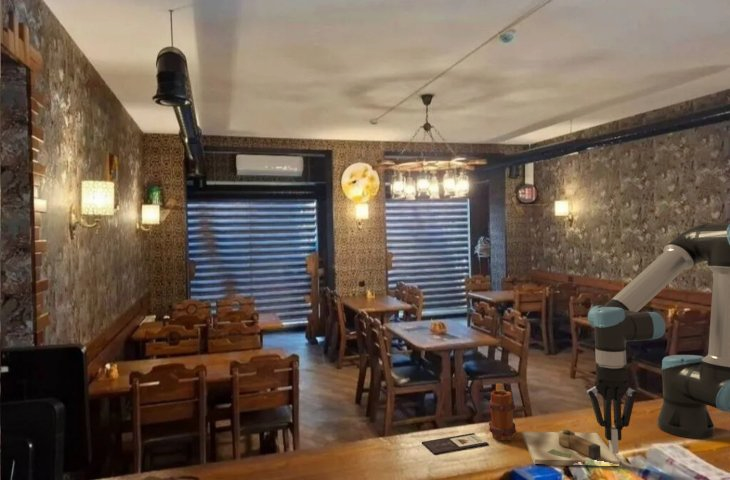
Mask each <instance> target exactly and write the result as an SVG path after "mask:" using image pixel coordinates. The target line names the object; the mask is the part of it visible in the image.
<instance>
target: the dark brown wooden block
mask: <svg viewBox="0 0 730 480" xmlns="http://www.w3.org/2000/svg"><path fill="white" fill-rule="evenodd" d="M558 432H559V445H561V446H563V447H570V448H572V449H574V450H576V451H579V452H581V453H583V454H585V455H587V456H589V457H590V458H592V459H596V458H600V457H601V454H600V446H599V445H597V444H594V443H592V442H590V441H588V440H585V439H583V438H581V437H579V436H577V435H575V433H574V431H571V430H569V429H562V430H559V431H558Z"/></svg>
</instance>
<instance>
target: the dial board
mask: <svg viewBox="0 0 730 480" xmlns="http://www.w3.org/2000/svg"><path fill="white" fill-rule="evenodd" d="M573 432H574V431H573ZM574 433H575V435H577V436H579V437H581V438H583V439H585V440H588V441H590V442H592V443H594V444H597V445H599V446H600V454H601V457H600V458H596V459H592V458H590V457H589V456H587V455H585V454H583V453H581V452H579V451H576V450H574V449H572V448H570V447H563V446H561V445H559V431H521V436H522V438H523V441H524V443H525V446H526V448H527V450H528V453H529V455H530V457H531V459H532V461H533V464H534V465H535V464H546V465H545V466H566V467H567V466H568V467H569V466H570V467H571V466H572V465H573V464H574V463H578V462H581V463H583V462H585V461H588V460H597V461H604V462H609V463H613V464H619V465H620V466H621V463H620V462H621V460H620V459H618V458H617V456H616V455H615V454H612V452H611V451H610V450H609V445H607V443H605V442H604V440H603V439H602V438H601V436H599V434H598V433H597V432H576V431H575V432H574ZM572 467H573V466H572Z"/></svg>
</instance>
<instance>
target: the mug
mask: <svg viewBox="0 0 730 480" xmlns="http://www.w3.org/2000/svg"><path fill="white" fill-rule="evenodd" d="M488 404H489V405H488V407H489V408H490V414H491V421H489V422H488V425H489V428H488V431H489V432H490V433H491V436H492V438H493V439H494V440H497V441H502V442H503V441H510V440H512V439H513V438H514V434H515V433H516V432H517V429H516V423H515V422H514V414H513V413H514V412H513V411H514V409H515V408H516V407H515V406H516V405H515V403H514V400H513V394H512V392H510V391H507V390H504V384H503V383H497V382H496V384H495V390H492V392H490V400H489V401H488Z"/></svg>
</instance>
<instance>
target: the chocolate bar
mask: <svg viewBox="0 0 730 480" xmlns="http://www.w3.org/2000/svg"><path fill="white" fill-rule="evenodd" d="M421 444H422V445H423V447H424V448H426V449H427V450H428V451H429V452H431V454H432V455H434V456H435V455H442V454H447V453H453V452H458V451H465V450H469V449H476V448H482V447H486V446H487V445H488V446H489V445H490V444H489V442H488V441H486V440H484V439H483V438H482V437H480V436H479V435H477V434H476V433H475V432H472V433H471V432H470V433H466V434H459V435H453V436H448V437H441V438H436V439H431V440H430V439H429V440H423V441H421Z"/></svg>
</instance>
